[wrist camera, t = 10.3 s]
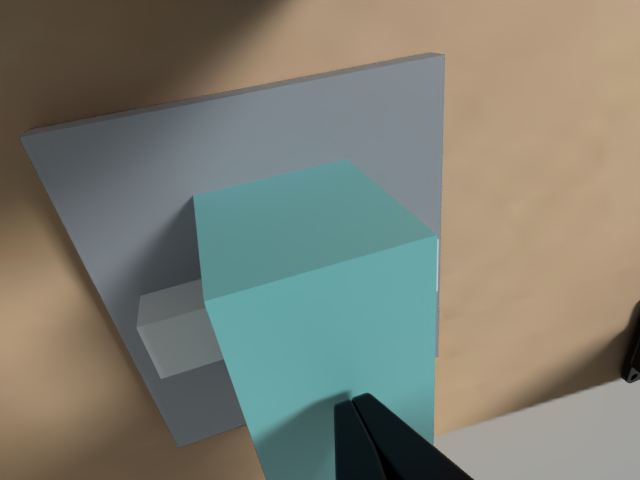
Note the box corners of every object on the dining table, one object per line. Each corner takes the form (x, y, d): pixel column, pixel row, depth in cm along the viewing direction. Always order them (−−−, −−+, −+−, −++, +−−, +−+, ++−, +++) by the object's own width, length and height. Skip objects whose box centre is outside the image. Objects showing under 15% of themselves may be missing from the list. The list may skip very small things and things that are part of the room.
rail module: (346, 159, 12) (437, 234, 8) (364, 337, 16) (433, 454, 12) (193, 195, 11) (203, 301, 7) (249, 375, 15) (278, 516, 11)
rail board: (429, 52, 12) (477, 59, 10) (428, 344, 18) (458, 382, 16) (29, 129, 10) (-6, 156, 8) (178, 430, 16) (178, 486, 14)
